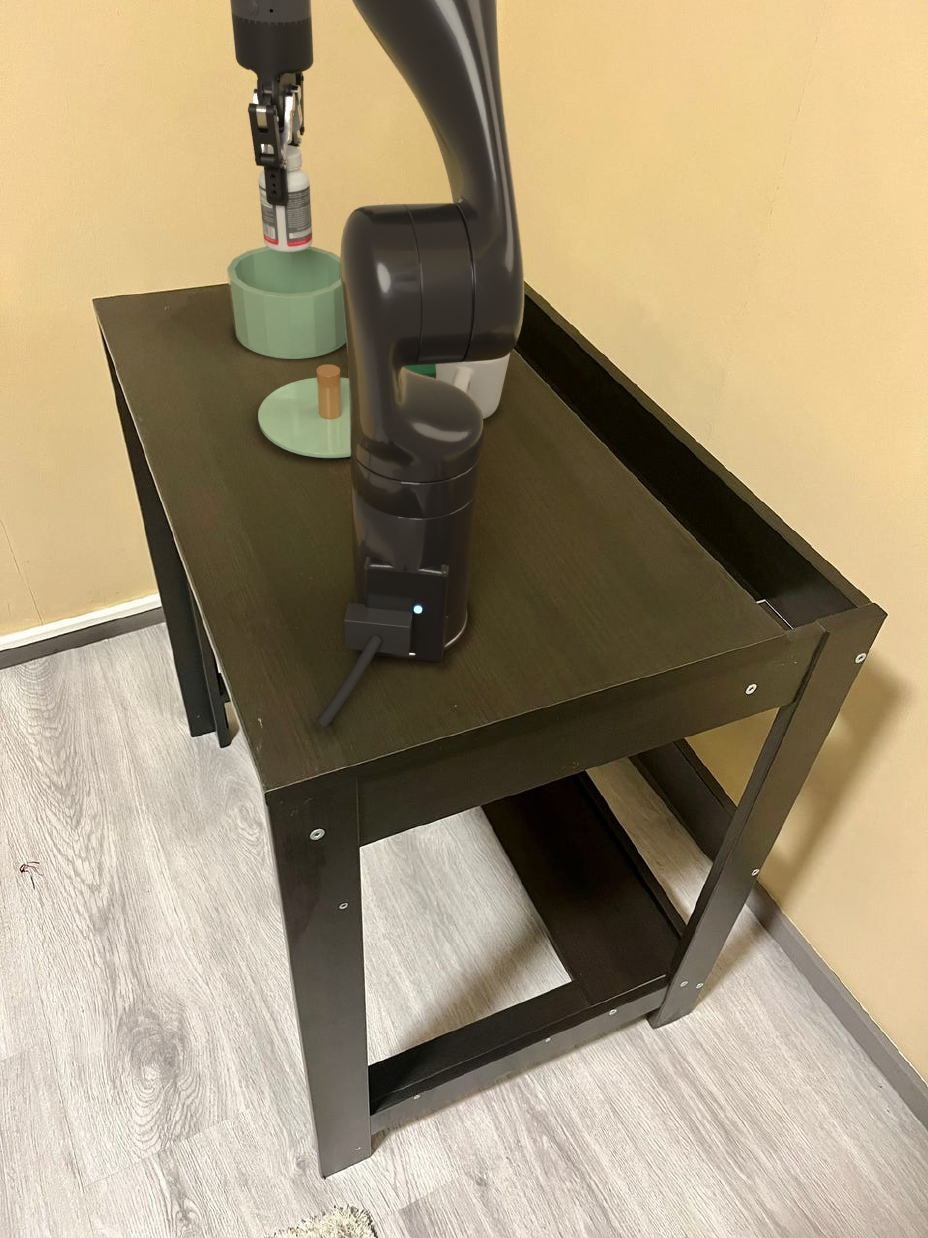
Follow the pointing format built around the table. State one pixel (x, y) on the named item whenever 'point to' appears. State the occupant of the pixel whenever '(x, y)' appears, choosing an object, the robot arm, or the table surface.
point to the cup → (477, 380)
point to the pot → (287, 302)
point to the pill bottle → (288, 209)
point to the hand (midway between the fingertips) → (284, 192)
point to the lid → (310, 415)
